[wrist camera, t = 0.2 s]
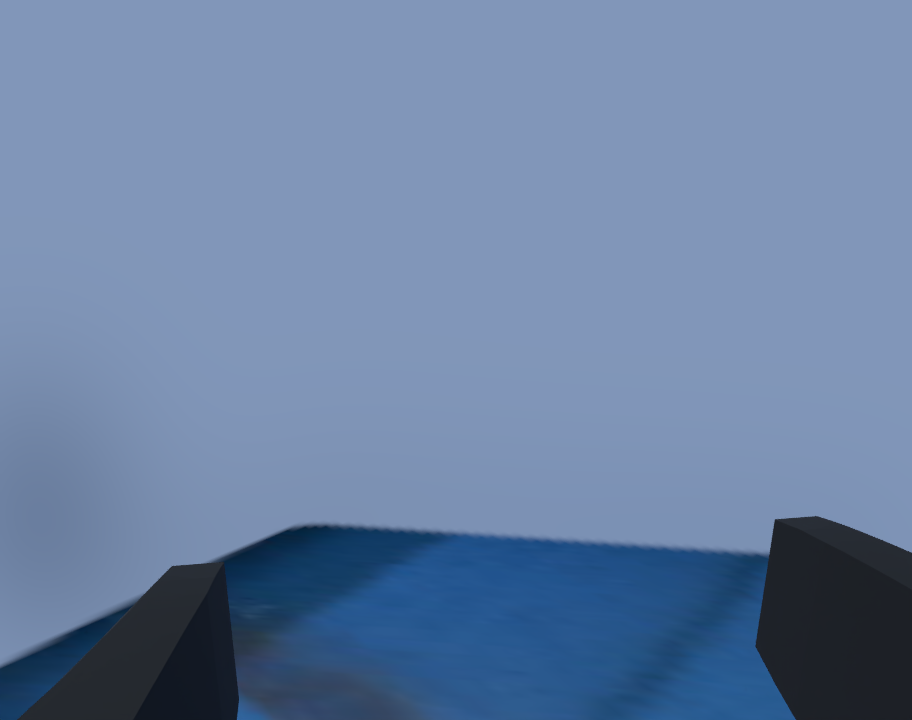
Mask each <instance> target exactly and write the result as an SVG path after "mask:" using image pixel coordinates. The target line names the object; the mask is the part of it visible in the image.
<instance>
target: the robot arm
mask: <svg viewBox="0 0 912 720" xmlns="http://www.w3.org/2000/svg"><path fill="white" fill-rule="evenodd" d="M756 648H757V650H758V652H759V654H760V656H761V658H762V660H763V662H764V663H765V665H766V667H767V669H768V671H769V673H770V675H771V677H772V679H773V681H774V682H775V684H776V686H777V688H778V690H779V691H780V693H781V695H782V697H783V698H784V700H785V702H786V703H787V705H788V707H789V709H790V710H791V712H792V714H793V716H794V717H795V719H796V720H912V553H911V552H909V551H906V550H904V549H901V548H899V547H897V546H894V545H892V544H890V543H887V542H885V541H883V540H880V539H878V538H875V537H873V536H870V535H868V534H865V533H863V532H860V531H858V530H855V529H853V528H850V527H847V526H845V525H842V524H839V523H836V522H833V521H830V520H827V519H824V518H821V517H817V516H815V517H801V518H788V519H775V523H774V529H773V535H772V542H771V548H770V555H769V561H768V568H767V574H766V581H765V587H764V594H763V600H762V607H761V613H760V620H759V627H758V633H757V640H756ZM238 703H239V696H238V686H237V677H236V668H235V659H234V650H233V640H232V631H231V622H230V613H229V604H228V595H227V585H226V576H225V567H224V562H219V563H206V564H193V565H181V566H172V567H171V568H170V569H169V570H168V571H167V572H166V573H165V574H164V575H163V576H162V577H161V578H160V579H159V580H158V581H157V582H156V583H155V584H154V585H153V586H152V587H151V588H150V589H149V590H148V591H147V592H146V593H145V594H144V595H143V596H142V597H141V598H140V599H139V600H138V601H137V602H136V603H135V604H134V605H133V607H132V608H131V609H130V610H129V611H128V612H127V613H126V614H125V615H124V616H123V617H122V618H121V619H120V620H119V621H118V622H117V623H116V624H115V625H114V626H113V627H112V628H111V629H110V630H109V631H108V633H107V634H106V635H105V636H104V637H103V638H102V639H101V640H100V641H99V642H98V643H97V644H96V645H95V646H94V647H93V648H92V649H91V650H90V651H89V652H88V653H87V654H86V655H85V656H84V657H83V658H82V659H81V660H80V661H79V662H78V663H77V664H76V665H75V666H74V667H73V668H72V669H71V670H70V671H69V672H68V673H67V674H66V675H65V676H64V677H63V678H62V679H61V680H60V681H59V682H58V683H57V684H56V685H55V686H54V687H52V688H51V689H50V690H49V691H48V692H47V693H46V694H45V695H44V696H43V697H42V698H40V699H39V700H38V701H37V702H36V703H35V704H34V705H33V706H32V707H31V708H30V709H28V710H27V711H26V712H25V713H24V714H23V715H22V716H21V717H20V718H19V719H17V720H237V712H238Z"/></svg>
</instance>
